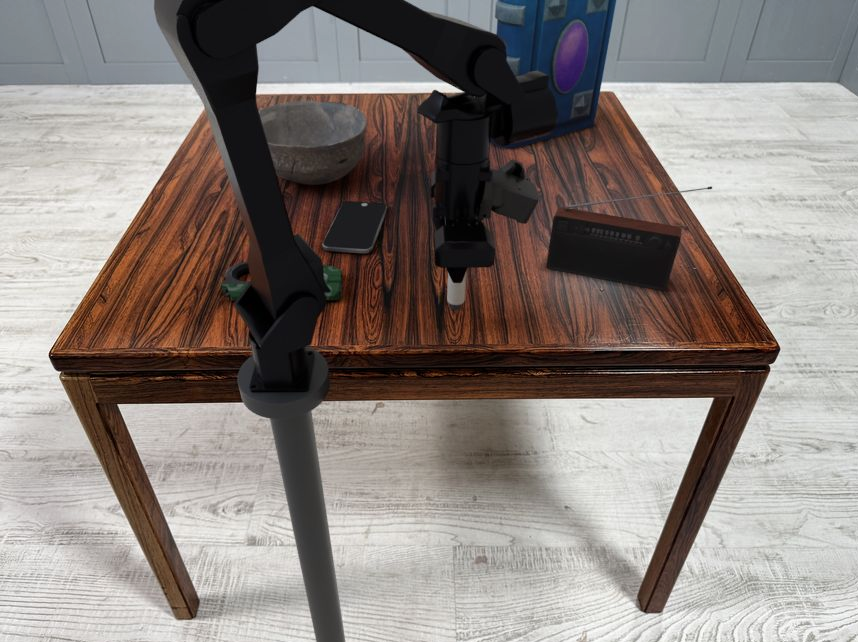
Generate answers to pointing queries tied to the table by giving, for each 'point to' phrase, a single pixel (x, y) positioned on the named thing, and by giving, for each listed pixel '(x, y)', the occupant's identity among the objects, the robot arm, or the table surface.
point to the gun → (236, 287)
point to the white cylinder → (456, 293)
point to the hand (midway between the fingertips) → (456, 276)
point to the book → (559, 53)
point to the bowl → (314, 140)
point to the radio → (613, 246)
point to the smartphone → (355, 227)
